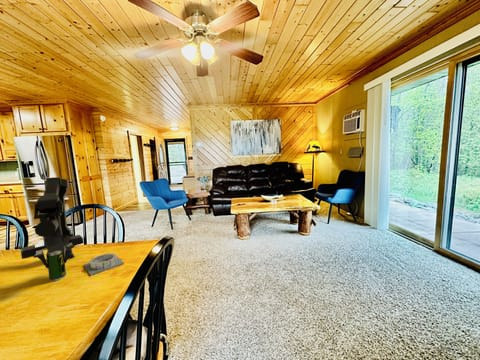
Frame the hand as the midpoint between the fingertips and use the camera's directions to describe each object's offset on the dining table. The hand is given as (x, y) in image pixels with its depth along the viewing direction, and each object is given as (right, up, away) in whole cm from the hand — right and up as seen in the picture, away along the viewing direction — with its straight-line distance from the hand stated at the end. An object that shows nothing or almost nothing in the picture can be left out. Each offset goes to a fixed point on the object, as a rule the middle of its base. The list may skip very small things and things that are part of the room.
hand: (56, 265), depth 87 cm
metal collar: (+13, -4, +10) cm, 17 cm away
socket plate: (+13, -4, +10) cm, 17 cm away
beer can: (0, -6, +1) cm, 6 cm away
